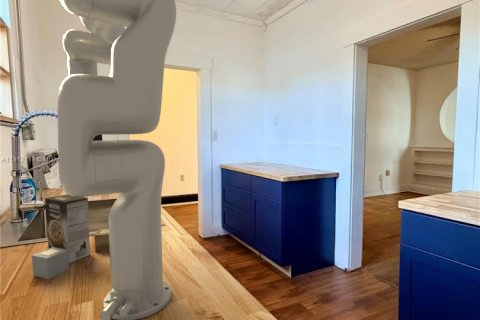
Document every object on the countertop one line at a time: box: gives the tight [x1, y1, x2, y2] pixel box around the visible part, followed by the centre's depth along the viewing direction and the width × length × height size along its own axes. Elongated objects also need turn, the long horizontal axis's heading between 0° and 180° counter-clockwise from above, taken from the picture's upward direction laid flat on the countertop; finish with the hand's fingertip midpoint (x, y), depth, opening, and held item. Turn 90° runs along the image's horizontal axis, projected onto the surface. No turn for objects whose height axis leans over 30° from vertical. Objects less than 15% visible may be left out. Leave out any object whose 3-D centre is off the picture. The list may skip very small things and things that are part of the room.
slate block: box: [31, 247, 69, 280], centre depth 67 cm, size 5×5×5 cm
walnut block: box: [93, 228, 110, 253], centre depth 81 cm, size 5×5×5 cm
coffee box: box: [44, 194, 91, 264], centre depth 75 cm, size 9×6×16 cm
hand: (87, 142), depth 84 cm, fingers open, 9 cm apart
